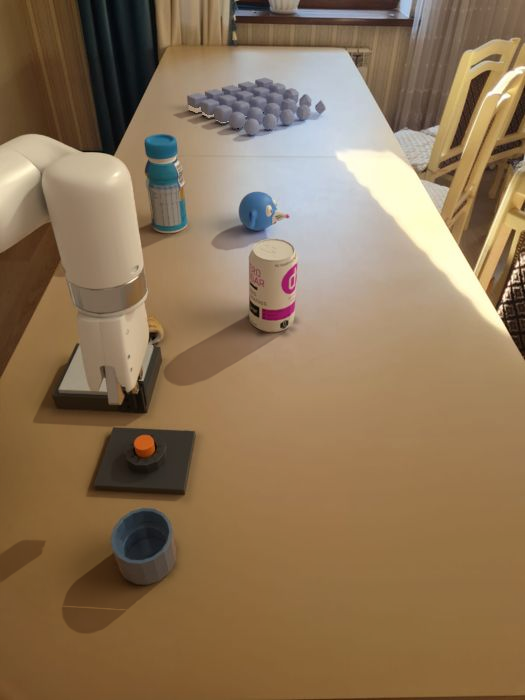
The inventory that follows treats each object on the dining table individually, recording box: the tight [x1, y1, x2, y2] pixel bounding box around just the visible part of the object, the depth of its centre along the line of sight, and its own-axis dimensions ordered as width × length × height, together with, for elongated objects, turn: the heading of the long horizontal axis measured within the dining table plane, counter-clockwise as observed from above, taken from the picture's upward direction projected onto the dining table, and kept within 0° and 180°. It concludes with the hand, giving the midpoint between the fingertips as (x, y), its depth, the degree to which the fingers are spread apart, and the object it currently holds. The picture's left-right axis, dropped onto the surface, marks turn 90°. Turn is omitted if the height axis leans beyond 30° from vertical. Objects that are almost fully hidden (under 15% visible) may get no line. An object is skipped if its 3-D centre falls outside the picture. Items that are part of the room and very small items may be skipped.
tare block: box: [93, 426, 197, 496], centre depth 74 cm, size 12×10×3 cm
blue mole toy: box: [238, 191, 291, 232], centre depth 122 cm, size 12×12×8 cm
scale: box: [51, 342, 163, 414], centre depth 85 cm, size 14×12×4 cm
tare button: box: [134, 435, 155, 458], centre depth 73 cm, size 3×3×2 cm
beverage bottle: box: [143, 133, 188, 234], centre depth 119 cm, size 8×8×20 cm
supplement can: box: [248, 238, 299, 333], centre depth 95 cm, size 8×8×15 cm
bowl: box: [110, 507, 178, 586], centre depth 63 cm, size 7×7×6 cm
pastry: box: [147, 314, 165, 345], centre depth 95 cm, size 9×7×4 cm
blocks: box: [186, 77, 327, 136], centre depth 184 cm, size 35×34×5 cm
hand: (133, 407), depth 66 cm, fingers closed
